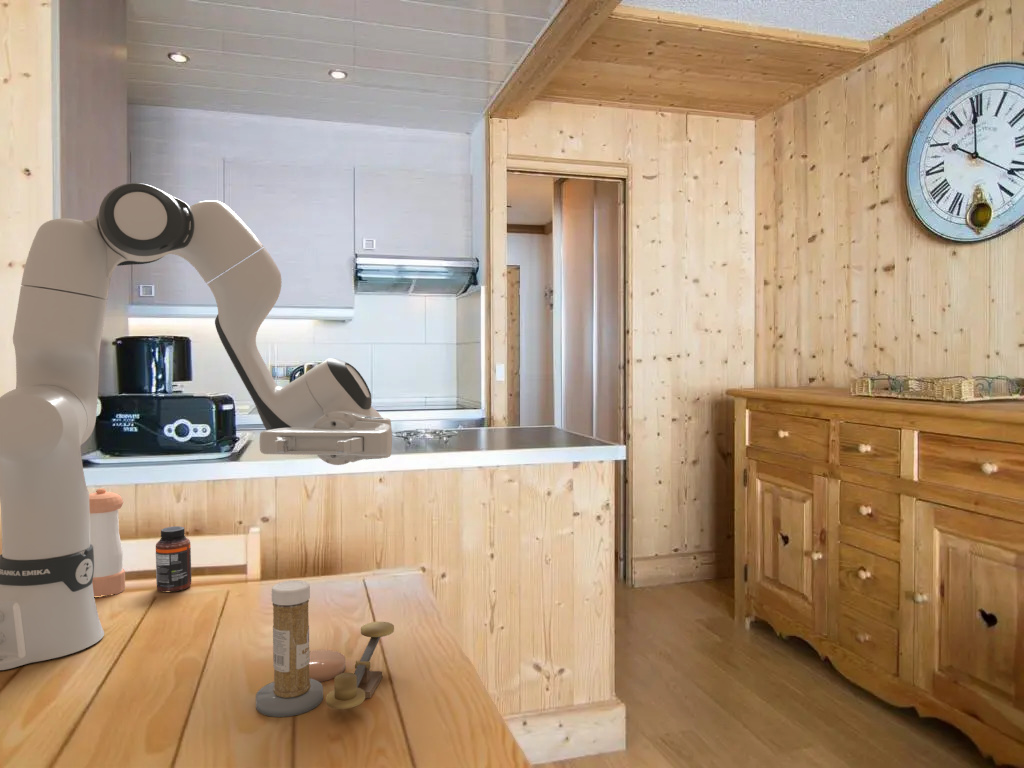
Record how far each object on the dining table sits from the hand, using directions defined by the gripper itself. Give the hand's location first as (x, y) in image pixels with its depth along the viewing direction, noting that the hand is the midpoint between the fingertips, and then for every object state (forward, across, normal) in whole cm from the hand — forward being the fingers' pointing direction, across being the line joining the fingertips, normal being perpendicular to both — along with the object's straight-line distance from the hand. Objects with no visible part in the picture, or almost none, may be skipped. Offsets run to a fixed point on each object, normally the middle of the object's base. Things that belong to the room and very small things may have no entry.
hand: (310, 447), depth 104 cm
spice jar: (+15, +3, +29) cm, 33 cm away
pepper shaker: (-23, -48, +30) cm, 61 cm away
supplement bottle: (-26, -36, +30) cm, 54 cm away
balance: (+11, +11, +30) cm, 34 cm away
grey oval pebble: (+16, +3, +30) cm, 34 cm away
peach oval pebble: (+7, +3, +30) cm, 31 cm away
